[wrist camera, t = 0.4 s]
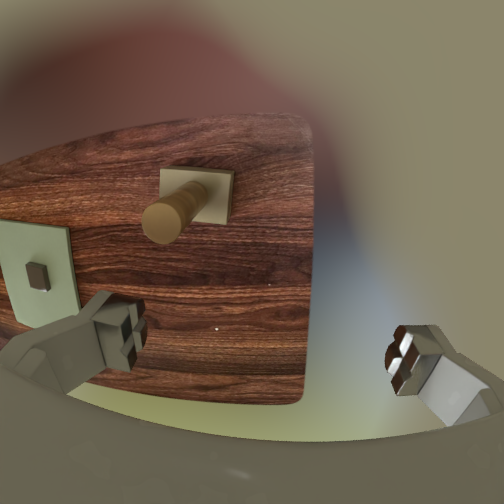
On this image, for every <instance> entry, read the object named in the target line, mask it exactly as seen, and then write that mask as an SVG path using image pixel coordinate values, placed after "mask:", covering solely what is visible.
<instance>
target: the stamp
mask: <svg viewBox="0 0 504 504" xmlns="http://www.w3.org/2000/svg"><path fill="white" fill-rule="evenodd" d="M234 173H235V171H234V170H224V169H213V168H202V167H189V166H174V165H170V166H167V167H164V168H161V169H160V193H159V200H157V201H156V202H154V203H153V204H151V205H150V206H148V207H147V208H146V209H145V211H144V213H143V215H142V228H143V230H144V232H145V234H146V235H147V237H148V238H149V239H151V240H152V241H154V242H156V243H159V244H168V243H171V242H173V241H175V240H176V239H177V238H178V237H179V235H180V234H181V233H182V232H183V231H184V229H185V228H186V227H187V226H188V225H189V224H190V222H191V221H198V222H207V223H215V224H224V225H226V224H227V222H228V220H229V218H230V214H231V203H232V193H233V183H234Z"/></svg>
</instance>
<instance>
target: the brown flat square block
mask: <svg viewBox="0 0 504 504" xmlns="http://www.w3.org/2000/svg"><path fill="white" fill-rule="evenodd" d="M25 267H26V271H27V276H28V280H29V284H30V288H33V289H37V290H40V291H44V292H48V291H49V290H50V289H51V286H50V281H49V276H48V271H47V266H46V265H43V264H38V263H34V262H28V263H27V264H25Z"/></svg>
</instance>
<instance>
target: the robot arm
mask: <svg viewBox="0 0 504 504" xmlns="http://www.w3.org/2000/svg"><path fill="white" fill-rule="evenodd" d="M144 312H145V303H144V300H143V299H142V298H138V297H133V296H128V295H123V294H119V293H113V292H109V291H104V290H101V291H98V292H97V293H96V294H95V295H94V297H93V298H92V299H91V300H90V301H89V302H88V303H87V304H86V305H85V306H84V307H83V308H82V310H81V311H80V312H79V313H78V314H77V315H76V316H74V315H70V316H68V317H65V318H62V319H60V320H57V321H54V322H52V323H49V324H46V325H44V326H41V327H38V328H36V329H33V330H30V331H28V332H25V333H22V334H20V335H17V336H14V337H13V338H12V339H11V340H10V341H9V342H8V343H7V344H6V345H5V346H4V348H3V349H2V350H1V351H0V504H504V381H503V380H501V379H500V378H498V377H497V376H495V375H494V374H492V373H491V372H489V371H488V370H486V369H484V368H483V367H481V366H480V365H478V364H477V363H475V362H473V361H472V360H470V359H469V358H467V357H466V356H464V355H462V354H461V353H456V351H455V349H454V348H453V347H452V345H451V344H450V342H449V341H448V339H447V338H446V336H445V335H444V333H443V332H442V331H441V329H440V328H439V327H438V326H437V325H414V326H413V325H399V326H398V327H397V329H396V331H395V333H394V335H393V336H394V339H395V341H394V342H393V343H391V344H390V345H389V346H388V349H387V351H386V354H385V368H386V370H387V373H389V374H390V375H391V376H393V378H392V381H391V383H392V386H393V388H394V391H395V394H396V396H408V395H417V396H418V397H419V398H420V399H421V400H422V401H423V402H424V403H425V404H426V405H427V406H428V407H429V408H430V409H431V410H432V411H433V412H434V413H435V414H436V415H437V416H438V417H439V418H440V419H441V420H442V421H443V422H444V423H445V424H446V425H447V426H448V427H444V428H440V429H435V430H430V431H425V432H420V433H413V434H407V435H401V436H394V437H386V438H376V439H366V440H353V441H334V442H292V441H291V442H290V441H270V440H256V439H246V438H237V437H228V436H221V435H214V434H207V433H201V432H195V431H190V430H184V429H180V428H175V427H170V426H165V425H161V424H157V423H153V422H149V421H145V420H141V419H137V418H134V417H130V416H126V415H123V414H120V413H117V412H113V411H110V410H107V409H104V408H101V407H98V406H95V405H93V404H90V403H87V402H84V401H82V400H79V399H76V398H73V397H71V396H69V395H66V394H67V393H69V392H70V391H71V390H73V389H75V388H76V387H78V386H79V385H81V384H82V383H84V382H86V381H87V380H89V379H90V378H92V377H93V376H95V375H96V374H98V373H99V372H101V371H102V370H104V369H106V367H109V368H113V369H117V370H121V371H125V372H131V370H132V368H133V366H134V364H135V362H136V360H137V353H136V352H138V351H140V350H142V349H143V347H144V345H145V342H146V338H147V330H148V327H147V321H146V320H145V319H144V317H143V316H142V315H143V313H144Z"/></svg>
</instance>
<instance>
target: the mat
mask: <svg viewBox="0 0 504 504" xmlns="http://www.w3.org/2000/svg"><path fill="white" fill-rule="evenodd" d="M28 262H34V263H38V264H43V265H46V266H47V271H48V276H49V281H50V286H51V289H50V290H49V291H48V292H44V291H40V290H37V289H33V288H30V284H29V280H28V276H27V271H26V267H25V264H27V263H28ZM0 263H1V268H2V272H3V276H4V280H5V284H6V287H7V291H8V294H9V298H10V301H11V304H12V307H13V310H14V313H15V316H16V319H17V321H18V322H20V323H22V324H25V325H27V326H30V327H32V328H35V329H36V328H38V327H41V326H44V325H46V324H49V323H52V322H54V321H57V320H60V319H62V318H65V317H68V316H70V315H74V316H76V315H77V314H78V313H79V312H80V311H81V310H82V309H81V304H80V299H79V294H78V289H77V283H76V278H75V272H74V265H73V258H72V251H71V243H70V234H69V227H62V226H54V225H46V224H38V223H30V222H21V221H13V220H5V219H0Z"/></svg>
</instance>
